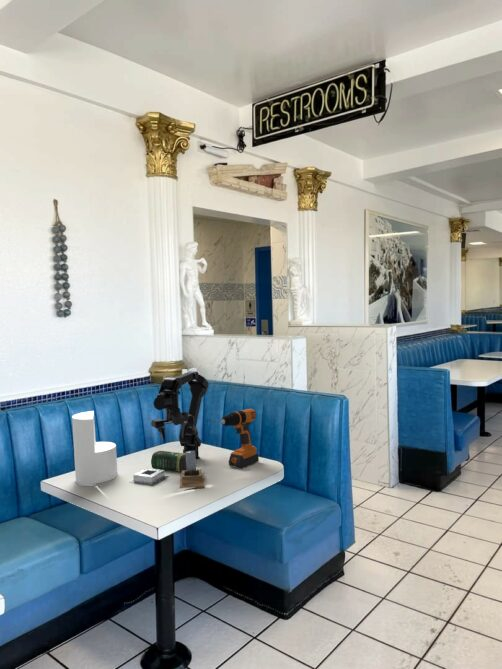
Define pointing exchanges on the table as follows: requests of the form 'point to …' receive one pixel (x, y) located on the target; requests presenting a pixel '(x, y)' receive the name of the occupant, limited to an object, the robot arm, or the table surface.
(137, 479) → the socket stand
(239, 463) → the power drill
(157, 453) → the coffee jar
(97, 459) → the stepped white column
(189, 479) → the wooden tray
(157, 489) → the table surface
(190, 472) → the metal rod
